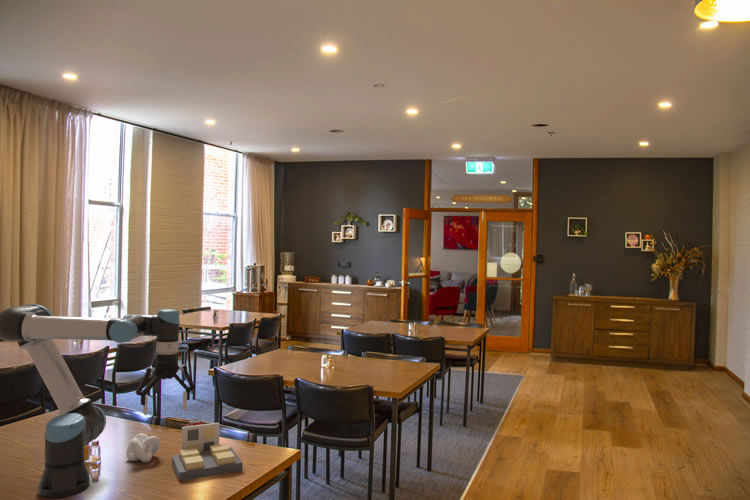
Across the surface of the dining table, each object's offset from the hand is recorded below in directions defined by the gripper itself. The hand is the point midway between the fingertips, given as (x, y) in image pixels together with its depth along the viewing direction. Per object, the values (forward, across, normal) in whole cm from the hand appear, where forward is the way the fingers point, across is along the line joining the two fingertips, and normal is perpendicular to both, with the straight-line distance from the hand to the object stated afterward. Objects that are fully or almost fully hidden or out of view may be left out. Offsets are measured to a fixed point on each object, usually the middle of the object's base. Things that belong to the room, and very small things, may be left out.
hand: (165, 411), depth 203 cm
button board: (+21, +15, -1) cm, 26 cm away
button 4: (+19, +20, -8) cm, 29 cm away
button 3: (+19, +21, +1) cm, 28 cm away
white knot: (+22, -4, +18) cm, 29 cm away
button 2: (+19, +9, -7) cm, 22 cm away
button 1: (+19, +10, +2) cm, 22 cm away
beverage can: (+22, +16, +17) cm, 31 cm away
